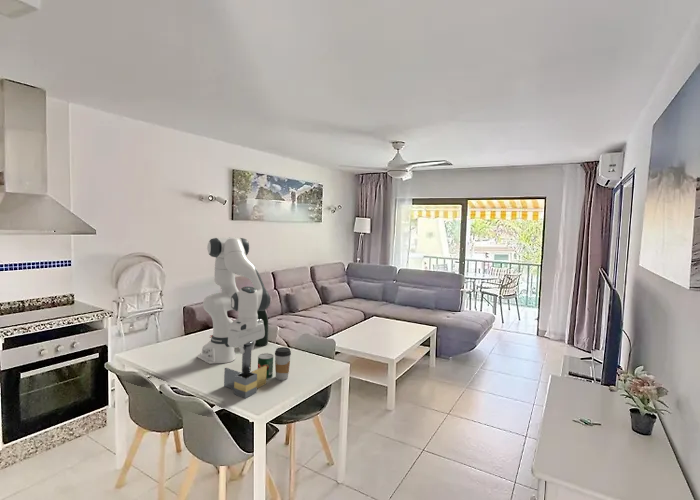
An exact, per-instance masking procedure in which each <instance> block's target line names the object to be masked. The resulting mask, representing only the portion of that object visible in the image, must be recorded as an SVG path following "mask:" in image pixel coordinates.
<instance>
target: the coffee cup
mask: <svg viewBox="0 0 700 500" xmlns="http://www.w3.org/2000/svg"><path fill="white" fill-rule="evenodd" d="M274 355H275V356H274V357H275V360H274V362H275V378H276V380H279V381H285V380H287V379H288V378H289V373H290V365H291V355H292V350H291V349H290V348H289V347H286V346H285V347H284V346H281V347H280V346H279V347H277V348H276V349H275V351H274Z"/></svg>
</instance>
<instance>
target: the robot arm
mask: <svg viewBox="0 0 700 500" xmlns="http://www.w3.org/2000/svg"><path fill="white" fill-rule="evenodd" d="M206 249H207V253H208V255H209V256H210V257H212V258H215V262H214V282H215V284H216V285H217V286H219V287H220V289H221V292H218V293H212V294H211V295H208V296H205V297H204V300H203V301H202V308H203V310H204V311H205V313H206V314H208V315H209V316H210V318H211V321H212V330H213V331H212V334H211V335H210V336H209V338H211V339H210V341H209V342H207V343H205V344H204V345H203V346H202V347H201V353H199V354H197V355H196V356H197V358H198V359H199V360H202V361H203V362H205V363H206V364H210V365H212V364H213V365H214V364H227V363H230V362H233V361H235V360H236V352H235V348H239V354H240V355H241V354H243V353H245V349H243V347H244V344H246V343H249V342H252V341H253V344H252V349H251V351H254V348H255V346H254V345H255V343H256V340H258V339H261V338H263V337H264V335H265V330H264V321H263V320H262V319H259V320H258V314H257V311H264V310H267V309H268V308H269V307H270V305H271V296H270V294H269V292H268V290H267V289H266V287H265V285H264V282H263V280H262V278H261V275H260V272H259V270H258V269H257V266H256V265H255V264H253V262H252V263H251V261H250V260H249V259H248V257H247V255H249V252H250V243H249V241H248V240H247V239H246V238H243V237H239V238H238V237H218V238H217V237H214V238H210V239H209V241H208V243H207V248H206ZM236 275H238V276H241V277H244V278H246V279H248V280H250V282H251V284H252V286H243V287H241V288H240V290H239V288H238V287H237V283H236ZM233 310H234V311H235V312H238V315H237V318H236V319H235V320H233V319H231V318H230V317H229V316H228V312H229V311H233Z"/></svg>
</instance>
